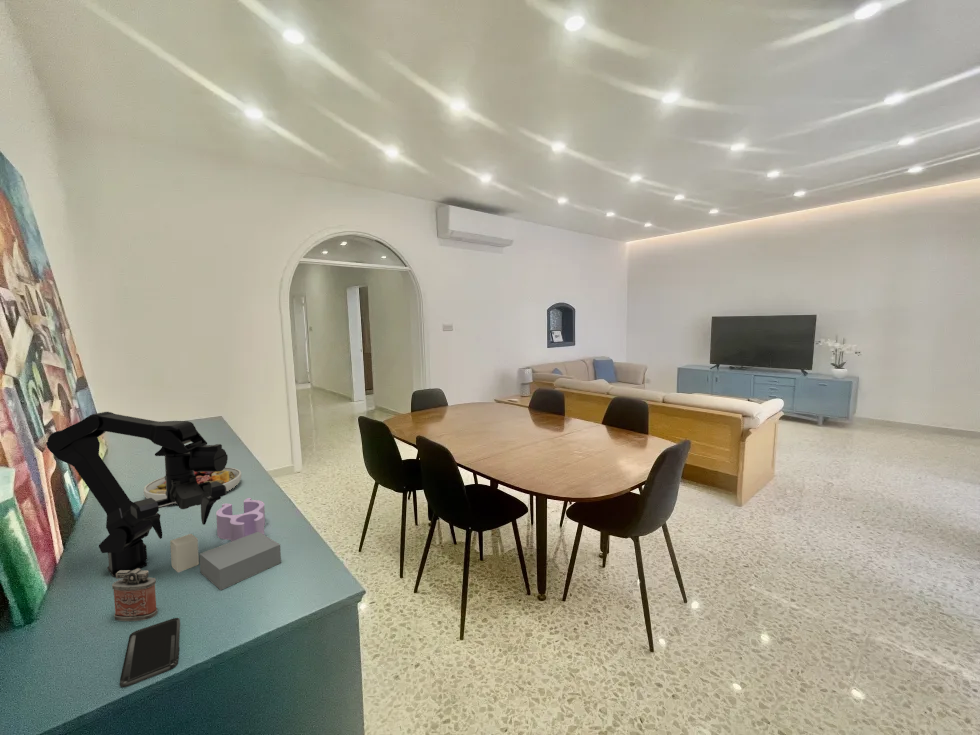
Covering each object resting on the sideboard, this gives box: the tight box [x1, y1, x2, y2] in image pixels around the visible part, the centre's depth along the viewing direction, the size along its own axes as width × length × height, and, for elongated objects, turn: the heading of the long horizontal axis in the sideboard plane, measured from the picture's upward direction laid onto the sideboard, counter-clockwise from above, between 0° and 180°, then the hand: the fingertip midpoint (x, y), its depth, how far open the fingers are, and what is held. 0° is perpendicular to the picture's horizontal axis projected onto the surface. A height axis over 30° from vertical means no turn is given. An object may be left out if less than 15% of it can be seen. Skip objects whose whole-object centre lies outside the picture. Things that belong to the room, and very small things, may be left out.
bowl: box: [143, 466, 242, 501], centre depth 153 cm, size 30×30×8 cm
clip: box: [215, 497, 266, 542], centre depth 121 cm, size 20×12×7 cm, turn 42°
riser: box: [199, 532, 282, 591], centre depth 102 cm, size 14×12×5 cm
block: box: [169, 533, 200, 573], centre depth 103 cm, size 4×4×7 cm
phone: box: [119, 617, 181, 688], centre depth 75 cm, size 8×1×15 cm
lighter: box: [111, 568, 159, 622], centre depth 84 cm, size 8×3×10 cm, turn 92°
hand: (183, 530), depth 103 cm, fingers open, 9 cm apart
